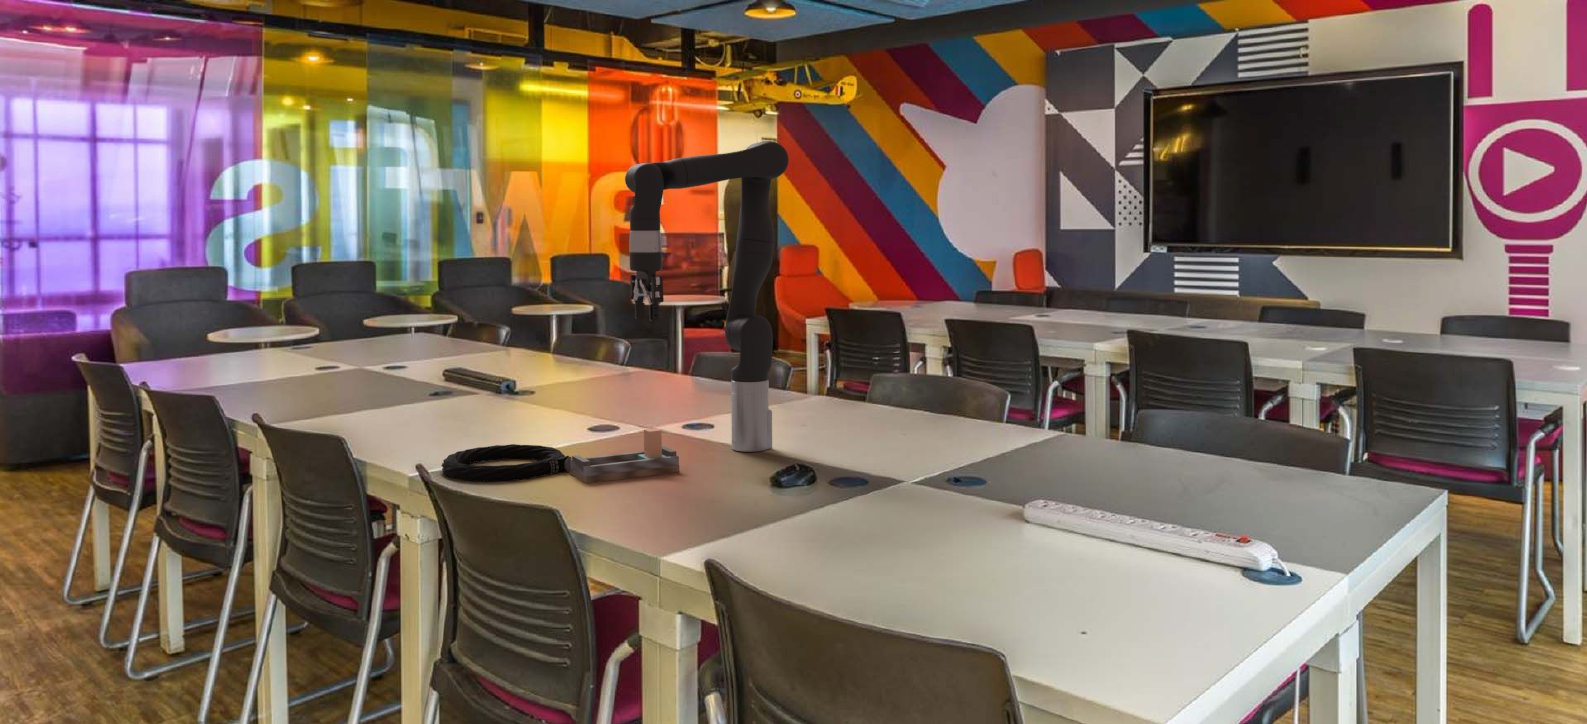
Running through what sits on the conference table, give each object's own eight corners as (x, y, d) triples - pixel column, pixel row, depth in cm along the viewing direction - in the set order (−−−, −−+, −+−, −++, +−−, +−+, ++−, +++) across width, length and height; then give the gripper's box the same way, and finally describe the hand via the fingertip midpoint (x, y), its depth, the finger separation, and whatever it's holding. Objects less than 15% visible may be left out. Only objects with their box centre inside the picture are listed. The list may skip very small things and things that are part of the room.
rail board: (661, 463, 267) (661, 444, 266) (679, 471, 258) (679, 452, 258) (570, 474, 256) (569, 454, 255) (585, 483, 247) (585, 462, 247)
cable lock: (476, 440, 278) (593, 444, 272) (477, 456, 279) (593, 460, 273) (417, 464, 251) (545, 469, 245) (418, 481, 252) (546, 487, 246)
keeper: (657, 459, 264) (657, 426, 263) (669, 464, 259) (668, 431, 258) (637, 461, 262) (636, 428, 261) (648, 466, 256) (647, 433, 255)
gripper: (672, 250, 262) (674, 321, 264) (648, 249, 275) (649, 317, 277) (642, 251, 259) (643, 323, 261) (619, 250, 271) (620, 318, 273)
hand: (647, 319), depth 269 cm, fingers open, 8 cm apart
